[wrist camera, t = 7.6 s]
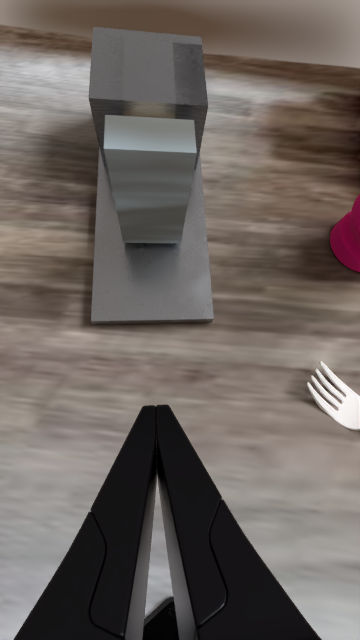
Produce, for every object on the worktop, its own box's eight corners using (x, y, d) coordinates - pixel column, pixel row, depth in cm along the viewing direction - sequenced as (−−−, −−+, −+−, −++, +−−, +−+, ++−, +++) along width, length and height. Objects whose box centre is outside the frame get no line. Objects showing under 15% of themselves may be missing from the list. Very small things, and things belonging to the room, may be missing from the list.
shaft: (180, 244, 23) (196, 152, 14) (123, 244, 23) (103, 148, 14) (173, 114, 27) (182, -18, 19) (125, 111, 27) (110, -27, 18)
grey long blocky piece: (211, 321, 23) (234, 291, 16) (93, 324, 22) (66, 293, 15) (194, 116, 29) (206, 33, 23) (103, 110, 28) (87, 22, 22)
